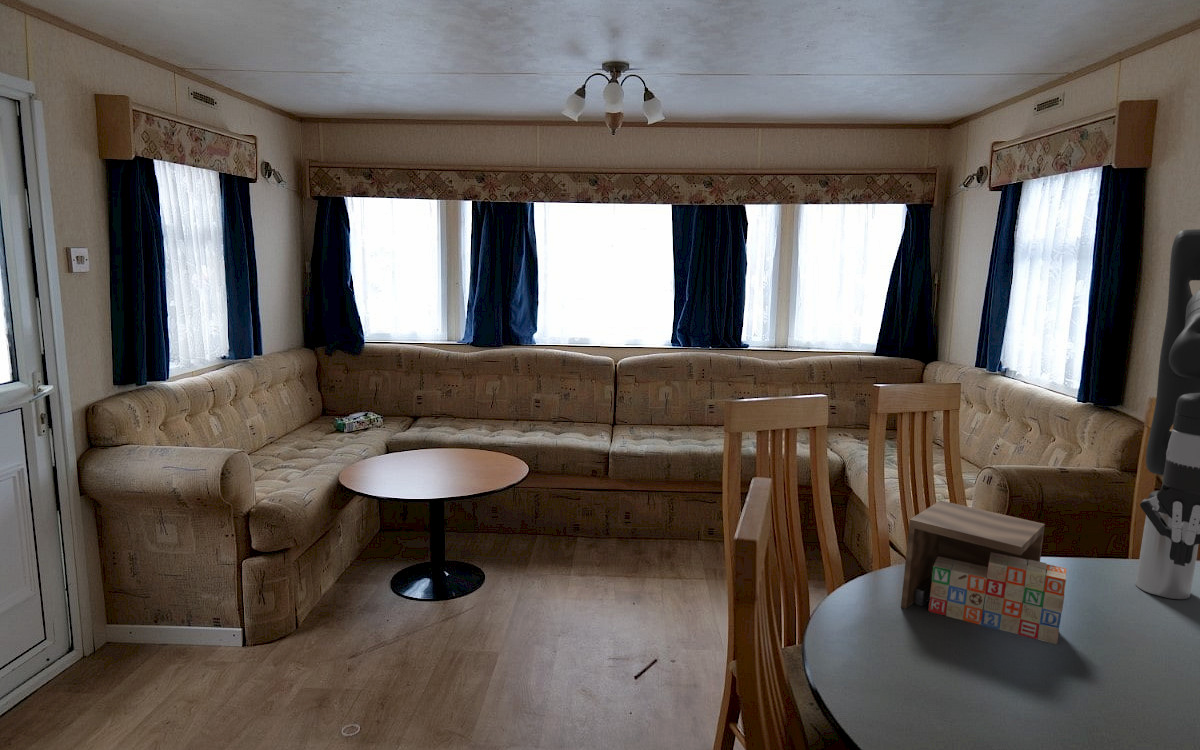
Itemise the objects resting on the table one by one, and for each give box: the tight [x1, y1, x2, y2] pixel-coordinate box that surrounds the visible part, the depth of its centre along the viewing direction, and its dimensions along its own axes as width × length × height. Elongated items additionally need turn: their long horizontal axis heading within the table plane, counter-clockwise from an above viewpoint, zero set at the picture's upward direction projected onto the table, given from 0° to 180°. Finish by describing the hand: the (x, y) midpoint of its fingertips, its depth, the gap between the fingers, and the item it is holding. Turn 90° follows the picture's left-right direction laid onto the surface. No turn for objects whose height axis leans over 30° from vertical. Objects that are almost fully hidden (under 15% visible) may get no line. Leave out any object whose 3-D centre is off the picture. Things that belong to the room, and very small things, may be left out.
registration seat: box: [913, 576, 932, 607], centre depth 152 cm, size 10×2×3 cm, turn 138°
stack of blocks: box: [927, 552, 1067, 645], centre depth 142 cm, size 21×6×12 cm, turn 59°
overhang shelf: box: [900, 500, 1046, 610], centre depth 146 cm, size 17×19×18 cm
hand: (1179, 563), depth 125 cm, fingers closed
